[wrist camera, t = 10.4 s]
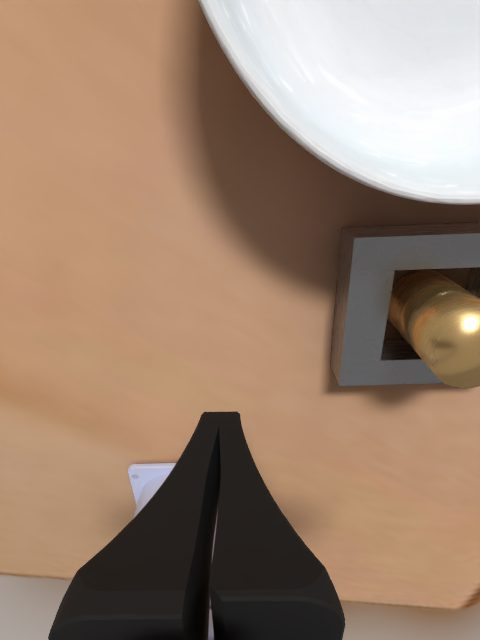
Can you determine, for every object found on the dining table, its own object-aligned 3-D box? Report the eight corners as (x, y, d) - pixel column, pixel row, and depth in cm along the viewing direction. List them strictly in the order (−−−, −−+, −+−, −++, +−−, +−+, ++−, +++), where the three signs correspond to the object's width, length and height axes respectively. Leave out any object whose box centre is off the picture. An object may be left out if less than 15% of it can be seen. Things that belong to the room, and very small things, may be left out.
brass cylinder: (444, 329, 23) (508, 386, 17) (380, 331, 23) (424, 389, 17) (458, 268, 21) (534, 311, 15) (389, 271, 21) (441, 314, 16)
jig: (482, 359, 24) (506, 381, 21) (330, 364, 24) (339, 386, 22) (525, 220, 20) (560, 230, 17) (341, 227, 20) (354, 238, 18)
